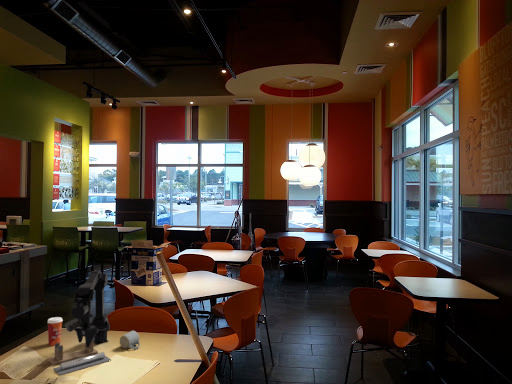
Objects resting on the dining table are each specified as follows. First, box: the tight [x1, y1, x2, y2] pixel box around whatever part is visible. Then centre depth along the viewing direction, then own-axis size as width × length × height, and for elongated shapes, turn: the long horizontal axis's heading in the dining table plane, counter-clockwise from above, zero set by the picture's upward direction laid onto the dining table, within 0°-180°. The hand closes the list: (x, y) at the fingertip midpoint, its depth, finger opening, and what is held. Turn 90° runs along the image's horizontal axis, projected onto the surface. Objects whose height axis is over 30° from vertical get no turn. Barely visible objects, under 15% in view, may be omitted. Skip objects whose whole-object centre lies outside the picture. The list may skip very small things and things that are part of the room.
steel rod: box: [59, 351, 106, 370], centre depth 183 cm, size 20×3×3 cm, turn 135°
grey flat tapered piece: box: [53, 355, 112, 376], centre depth 183 cm, size 24×9×1 cm, turn 135°
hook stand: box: [48, 338, 99, 367], centre depth 191 cm, size 21×8×8 cm, turn 135°
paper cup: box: [47, 316, 64, 347], centre depth 210 cm, size 8×8×14 cm
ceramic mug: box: [119, 330, 141, 350], centre depth 207 cm, size 11×8×8 cm
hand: (83, 344), depth 183 cm, fingers open, 9 cm apart
